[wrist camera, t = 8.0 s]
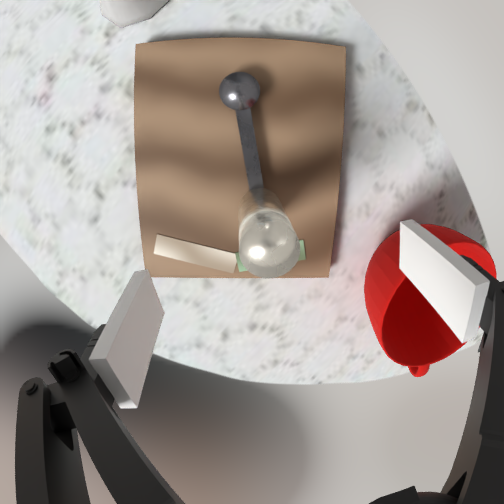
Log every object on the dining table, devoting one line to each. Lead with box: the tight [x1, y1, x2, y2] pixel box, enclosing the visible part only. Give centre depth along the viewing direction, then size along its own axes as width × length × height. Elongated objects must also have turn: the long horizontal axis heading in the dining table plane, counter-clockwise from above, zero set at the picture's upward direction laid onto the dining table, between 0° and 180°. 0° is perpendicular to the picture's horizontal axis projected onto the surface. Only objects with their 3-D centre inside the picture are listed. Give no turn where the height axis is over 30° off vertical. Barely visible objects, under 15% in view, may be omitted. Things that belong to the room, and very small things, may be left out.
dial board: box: [134, 38, 346, 278], centre depth 27 cm, size 22×18×2 cm
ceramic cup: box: [364, 224, 496, 377], centre depth 29 cm, size 13×17×10 cm
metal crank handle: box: [219, 72, 300, 278], centre depth 22 cm, size 16×4×10 cm, turn 9°
